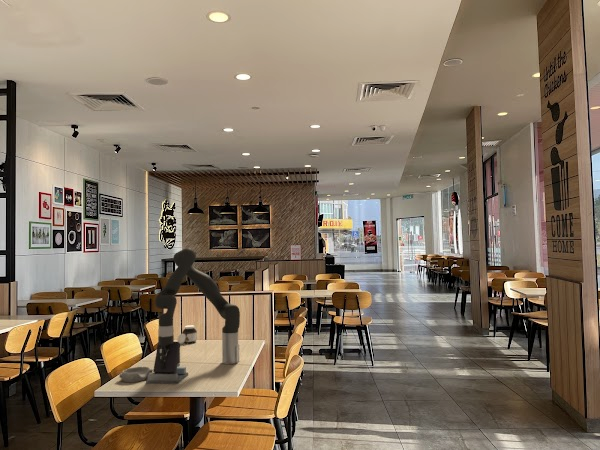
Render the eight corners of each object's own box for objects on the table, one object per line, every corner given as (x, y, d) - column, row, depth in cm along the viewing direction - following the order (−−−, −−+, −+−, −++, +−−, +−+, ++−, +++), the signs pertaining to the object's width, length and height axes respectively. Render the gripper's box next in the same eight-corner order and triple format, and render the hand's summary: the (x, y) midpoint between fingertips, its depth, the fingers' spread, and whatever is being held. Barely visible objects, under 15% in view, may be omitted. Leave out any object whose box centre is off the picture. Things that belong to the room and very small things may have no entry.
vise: (158, 375, 253) (158, 366, 253) (188, 375, 251) (188, 366, 251) (146, 383, 237) (146, 374, 238) (177, 383, 236) (177, 374, 236)
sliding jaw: (165, 368, 260) (165, 347, 261) (190, 368, 259) (190, 347, 259) (157, 373, 249) (157, 351, 250) (183, 373, 248) (183, 351, 249)
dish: (155, 376, 251) (155, 366, 251) (140, 383, 237) (140, 373, 238) (130, 375, 254) (130, 365, 254) (114, 382, 241) (114, 372, 241)
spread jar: (198, 341, 344) (198, 325, 344) (191, 345, 333) (191, 327, 333) (183, 341, 347) (183, 325, 347) (175, 344, 336) (175, 327, 336)
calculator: (176, 373, 241) (181, 343, 248) (173, 371, 237) (178, 341, 245) (155, 373, 242) (161, 344, 250) (152, 371, 239) (157, 341, 246)
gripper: (164, 332, 251) (164, 363, 250) (153, 337, 237) (153, 370, 236) (178, 332, 250) (178, 363, 249) (167, 337, 236) (168, 370, 235)
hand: (166, 367), depth 242 cm, fingers open, 8 cm apart
